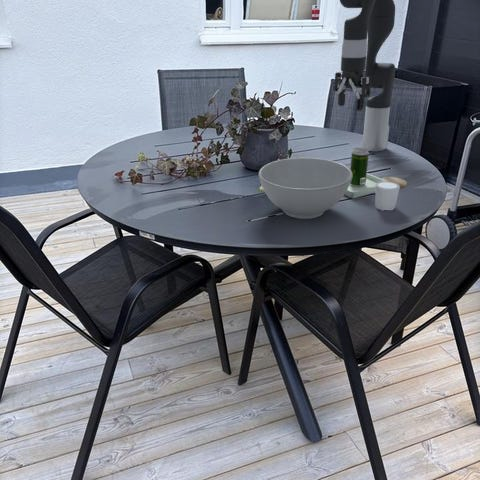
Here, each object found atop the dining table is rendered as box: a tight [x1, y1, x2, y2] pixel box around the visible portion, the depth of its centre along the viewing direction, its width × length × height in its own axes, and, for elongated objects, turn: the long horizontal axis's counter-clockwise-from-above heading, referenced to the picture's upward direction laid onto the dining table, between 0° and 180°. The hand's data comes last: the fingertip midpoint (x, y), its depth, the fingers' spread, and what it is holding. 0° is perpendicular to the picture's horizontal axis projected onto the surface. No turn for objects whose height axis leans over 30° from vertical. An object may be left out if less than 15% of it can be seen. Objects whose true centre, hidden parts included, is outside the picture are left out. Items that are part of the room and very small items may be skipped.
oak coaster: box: [381, 176, 408, 189], centre depth 155 cm, size 9×9×1 cm
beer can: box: [349, 147, 370, 187], centre depth 151 cm, size 5×5×12 cm
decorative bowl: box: [258, 157, 353, 220], centre depth 135 cm, size 27×27×12 cm
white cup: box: [374, 181, 401, 211], centre depth 137 cm, size 7×7×7 cm
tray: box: [343, 172, 386, 200], centre depth 153 cm, size 16×14×2 cm
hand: (350, 107), depth 150 cm, fingers open, 8 cm apart
